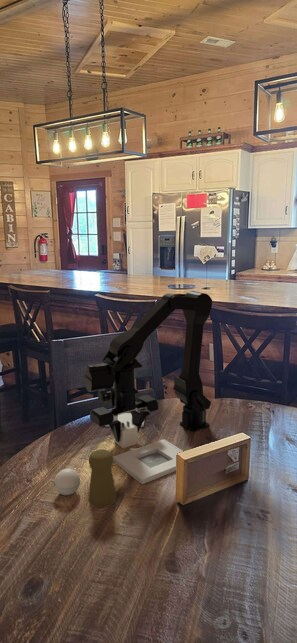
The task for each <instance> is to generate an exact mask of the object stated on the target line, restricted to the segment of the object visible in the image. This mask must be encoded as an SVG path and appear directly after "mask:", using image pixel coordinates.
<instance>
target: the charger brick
mask: <svg viewBox="0 0 297 643" xmlns="http://www.w3.org/2000/svg"><path fill="white" fill-rule="evenodd" d="M138 433H139V431H137V426H136V425H134V424H133V423H131V422H129V421H126V422H122V423H121V429H120V440H119V442H116V440H115V437H114V436H113V438H114V442H115V443H116V444H117V445H118V446H120V447H121V448H122V449H125V448H128V447H131V446H134V445H138V444H139V440H138V439H139V438H138V437H139V436H138Z"/></svg>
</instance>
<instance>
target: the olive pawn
mask: <svg viewBox="0 0 297 643" xmlns="http://www.w3.org/2000/svg"><path fill="white" fill-rule="evenodd" d="M113 456H114V455H113V453H111V451H109V450H107V449H104V448H103V449H102V448H101V449H96V450H93V451H92V452H91V453H90V454H89V456H88V464H89V467H90V468H91V471H90V472H91V473H90V481H89V483H90V484H89V492H88V493H89V494H88V502H89V504H90V506H93V507H95V508H106V507H107V508H108V507H109V506H111V505H113V504H115V502H117V492H116V486H115V481H114V478H113V471H112V466H113V463H114V462H113Z"/></svg>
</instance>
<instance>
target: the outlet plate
mask: <svg viewBox="0 0 297 643" xmlns="http://www.w3.org/2000/svg"><path fill="white" fill-rule="evenodd" d="M127 451H128V452H126V451H124V452H125V453H123V452H121V453H122V454H120V453H118V454H119V455H117V454H116V455H117V456H114V455H113V456H114V457H113V463H115V464H116V465H117V466H118V467H120V468H121V469H123V471H125V472H126V473H127V474H128V475H129V476H131V477H132V478H133V479H135V481H137V482H138V483H139V484H140V485H143V484H146V483H149V482H151V481H152V482H153V481H154V480H156V479H159V478H161V477H164V476H166V475H168V474H171V473H173V472H176V471H177V470H176V455H177V453H179V452H183V451H184V450H182V449H180V448H179V447H177V446H176V445H174V444H173V443H171V442H169V441H168V440H167V439H164V438H162V439H160V440H157V441H154V442H151V443H149V444H146V445H143V446H139V447H137V448H134V450H131V451H129V450H127Z"/></svg>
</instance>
